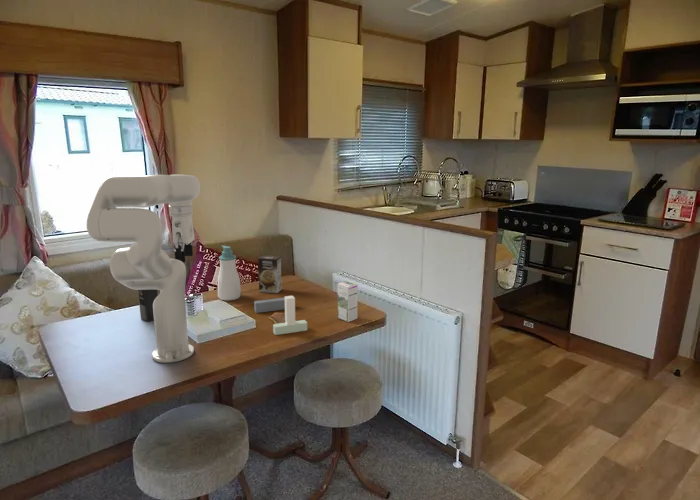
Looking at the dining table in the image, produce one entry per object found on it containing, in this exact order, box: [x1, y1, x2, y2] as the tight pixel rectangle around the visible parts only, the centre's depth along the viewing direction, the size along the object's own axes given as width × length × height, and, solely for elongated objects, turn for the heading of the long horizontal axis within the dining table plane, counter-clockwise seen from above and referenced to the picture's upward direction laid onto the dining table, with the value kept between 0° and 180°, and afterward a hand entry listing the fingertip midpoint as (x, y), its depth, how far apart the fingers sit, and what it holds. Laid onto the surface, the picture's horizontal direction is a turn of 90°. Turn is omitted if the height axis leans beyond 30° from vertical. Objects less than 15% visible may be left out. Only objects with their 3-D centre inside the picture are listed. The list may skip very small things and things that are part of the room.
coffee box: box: [257, 254, 282, 294], centre depth 208 cm, size 9×6×16 cm
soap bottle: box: [217, 245, 242, 301], centre depth 198 cm, size 10×10×23 cm
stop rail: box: [253, 297, 285, 314], centre depth 186 cm, size 3×16×4 cm, turn 113°
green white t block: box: [272, 295, 308, 336], centre depth 164 cm, size 12×3×13 cm, turn 113°
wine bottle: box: [137, 290, 159, 322], centre depth 172 cm, size 6×6×30 cm
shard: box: [268, 311, 285, 324], centre depth 175 cm, size 11×8×2 cm
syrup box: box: [337, 280, 359, 323], centre depth 176 cm, size 6×6×14 cm
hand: (184, 259), depth 160 cm, fingers open, 9 cm apart
